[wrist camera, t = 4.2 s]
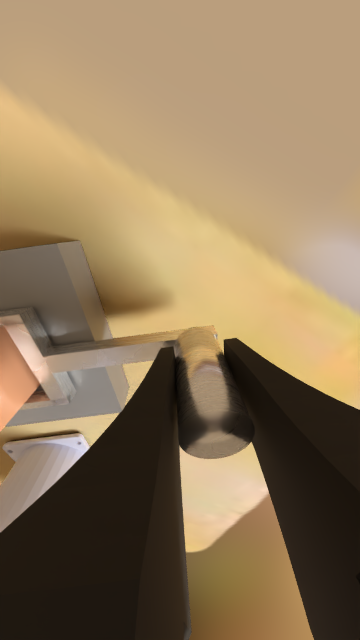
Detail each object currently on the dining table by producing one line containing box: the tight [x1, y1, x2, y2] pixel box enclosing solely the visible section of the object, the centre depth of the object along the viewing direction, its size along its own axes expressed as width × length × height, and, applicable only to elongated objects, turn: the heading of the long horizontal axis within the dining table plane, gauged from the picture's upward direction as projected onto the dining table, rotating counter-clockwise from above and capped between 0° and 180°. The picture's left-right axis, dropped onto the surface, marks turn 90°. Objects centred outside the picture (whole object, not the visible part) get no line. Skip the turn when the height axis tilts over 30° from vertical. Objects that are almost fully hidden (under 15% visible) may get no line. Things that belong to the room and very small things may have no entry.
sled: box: [0, 307, 255, 459], centre depth 8 cm, size 18×6×6 cm, turn 97°
